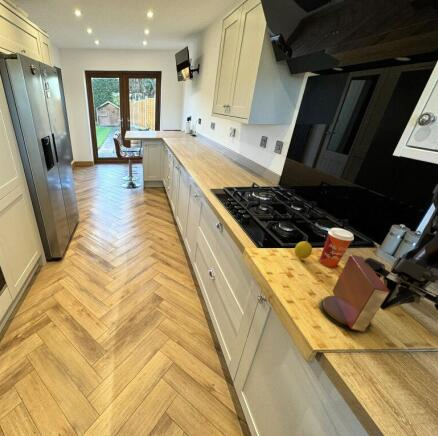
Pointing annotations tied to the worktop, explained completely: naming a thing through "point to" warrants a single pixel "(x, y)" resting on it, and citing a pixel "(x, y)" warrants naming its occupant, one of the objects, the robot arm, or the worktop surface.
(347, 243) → the paper cup
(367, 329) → the turntable base
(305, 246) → the lemon
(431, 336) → the worktop surface
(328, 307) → the book stand
